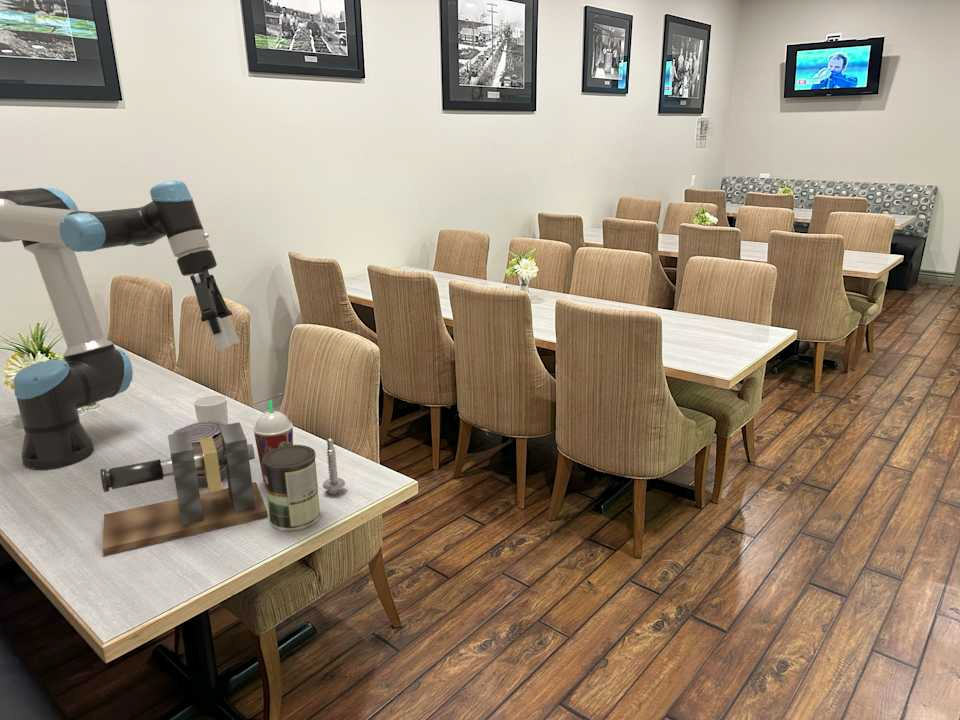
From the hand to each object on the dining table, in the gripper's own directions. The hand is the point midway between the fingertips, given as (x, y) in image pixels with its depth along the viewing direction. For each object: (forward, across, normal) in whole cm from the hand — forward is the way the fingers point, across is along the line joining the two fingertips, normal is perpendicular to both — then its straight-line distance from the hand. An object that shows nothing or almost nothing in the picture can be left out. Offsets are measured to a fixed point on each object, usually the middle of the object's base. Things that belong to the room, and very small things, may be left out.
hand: (229, 346), depth 151 cm
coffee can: (+37, -17, -3) cm, 41 cm away
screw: (+37, -8, -11) cm, 40 cm away
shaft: (+21, -14, +15) cm, 30 cm away
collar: (+21, -13, +10) cm, 27 cm away
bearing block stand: (+30, -12, +18) cm, 37 cm away
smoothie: (+33, -1, 0) cm, 33 cm away
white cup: (+22, +30, +16) cm, 40 cm away
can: (+27, +6, +17) cm, 32 cm away
